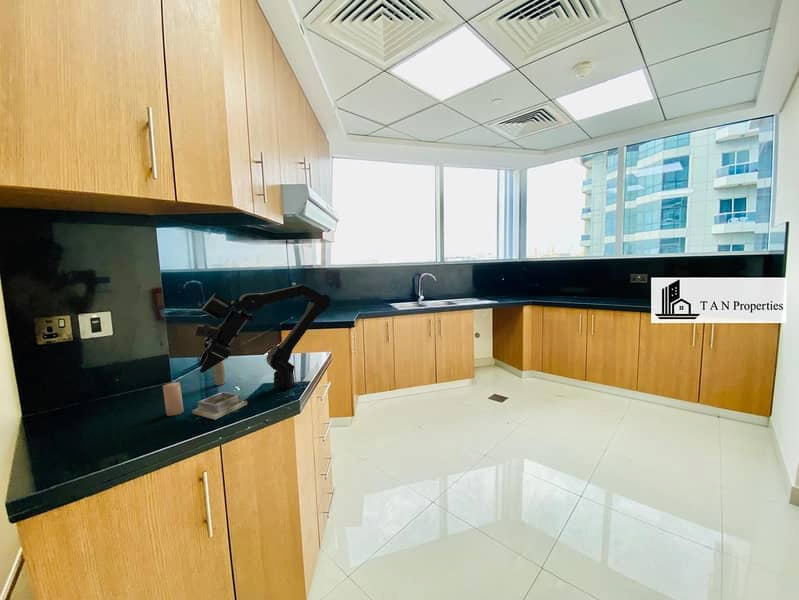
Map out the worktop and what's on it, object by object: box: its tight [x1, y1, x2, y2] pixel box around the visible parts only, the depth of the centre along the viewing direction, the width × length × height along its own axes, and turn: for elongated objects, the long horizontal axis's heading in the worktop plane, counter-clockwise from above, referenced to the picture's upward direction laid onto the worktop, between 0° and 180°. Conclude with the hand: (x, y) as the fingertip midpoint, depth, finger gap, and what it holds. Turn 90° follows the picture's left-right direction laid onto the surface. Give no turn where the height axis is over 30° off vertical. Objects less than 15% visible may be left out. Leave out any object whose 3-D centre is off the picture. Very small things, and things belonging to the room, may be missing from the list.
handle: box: [212, 360, 226, 386], centre depth 125 cm, size 5×6×15 cm
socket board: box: [191, 391, 248, 420], centre depth 103 cm, size 11×11×4 cm
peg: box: [162, 381, 185, 417], centre depth 102 cm, size 4×4×9 cm
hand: (200, 368), depth 104 cm, fingers open, 9 cm apart
